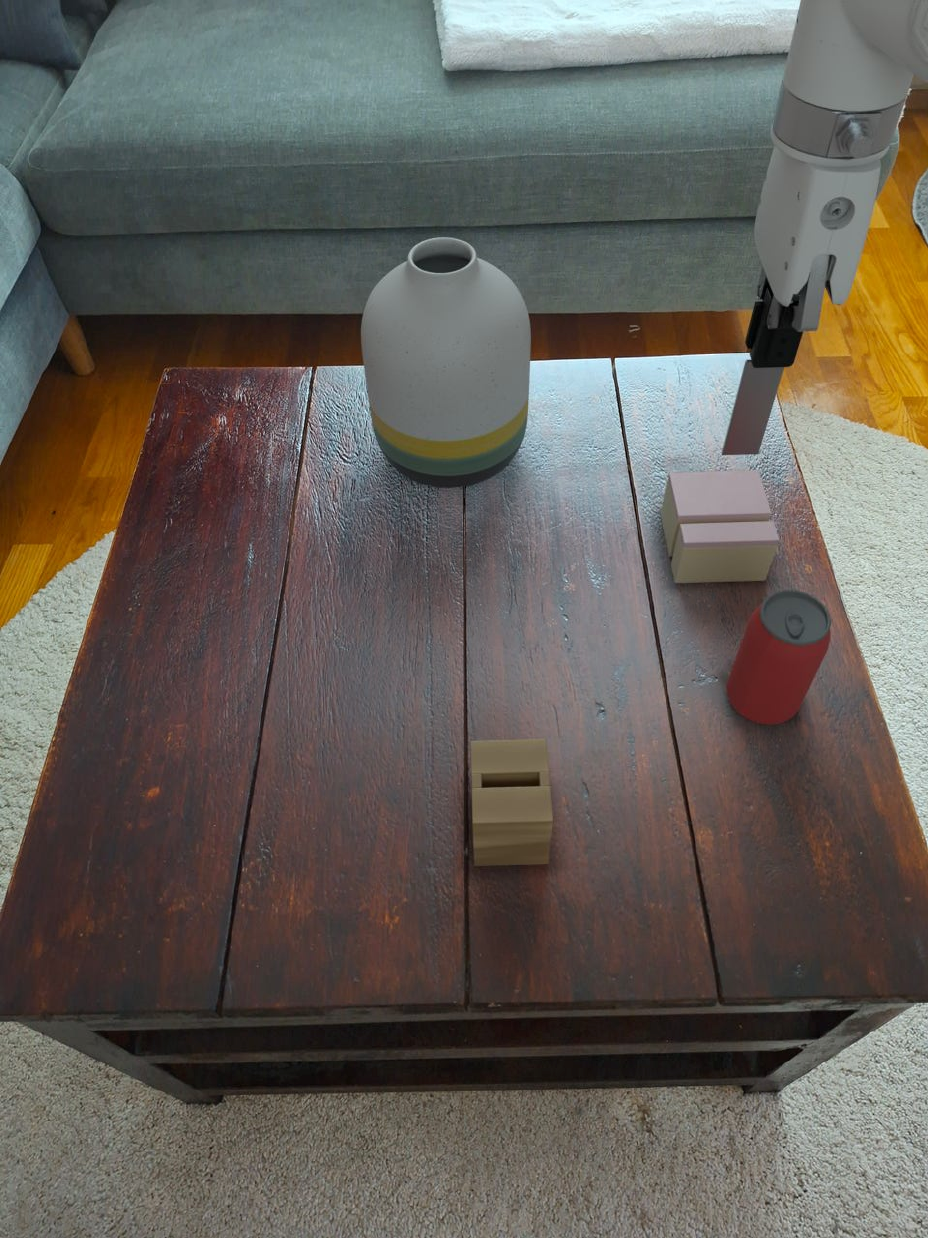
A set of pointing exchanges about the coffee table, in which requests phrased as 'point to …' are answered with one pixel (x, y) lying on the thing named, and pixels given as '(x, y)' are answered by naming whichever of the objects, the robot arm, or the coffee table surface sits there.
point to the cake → (712, 500)
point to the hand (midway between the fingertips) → (768, 354)
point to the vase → (447, 365)
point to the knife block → (511, 802)
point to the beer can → (779, 656)
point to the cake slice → (724, 552)
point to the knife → (753, 399)
